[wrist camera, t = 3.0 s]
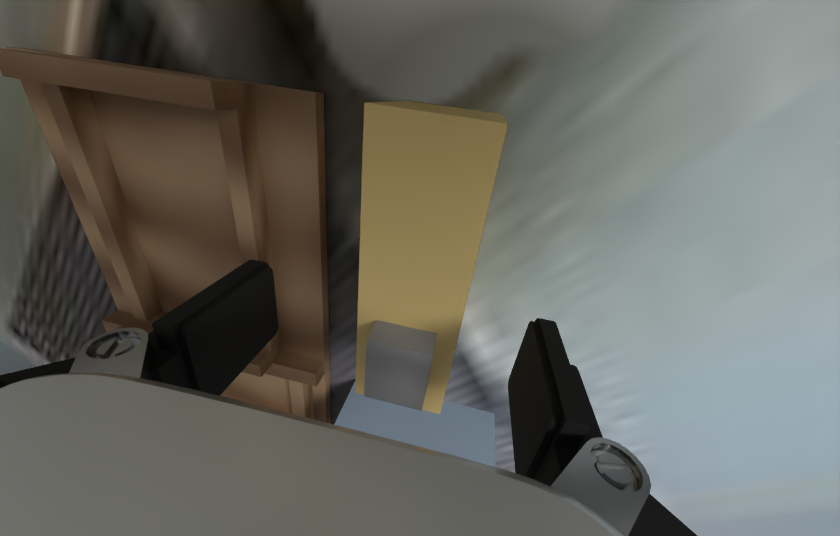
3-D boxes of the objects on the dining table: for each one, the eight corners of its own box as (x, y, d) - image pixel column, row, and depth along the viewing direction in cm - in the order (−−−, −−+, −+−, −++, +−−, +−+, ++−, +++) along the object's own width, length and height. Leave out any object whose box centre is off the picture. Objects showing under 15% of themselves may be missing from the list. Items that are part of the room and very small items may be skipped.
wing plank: (356, 377, 23) (317, 458, 18) (494, 411, 22) (495, 508, 17) (355, 412, 25) (319, 495, 20) (481, 446, 24) (479, 542, 19)
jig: (27, 48, 16) (-69, 39, 13) (323, 93, 14) (284, 92, 12) (170, 407, 30) (137, 439, 27) (331, 452, 28) (314, 491, 25)
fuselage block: (410, 100, 14) (347, 103, 8) (501, 113, 14) (510, 127, 7) (390, 316, 20) (344, 415, 14) (453, 330, 20) (436, 439, 13)
